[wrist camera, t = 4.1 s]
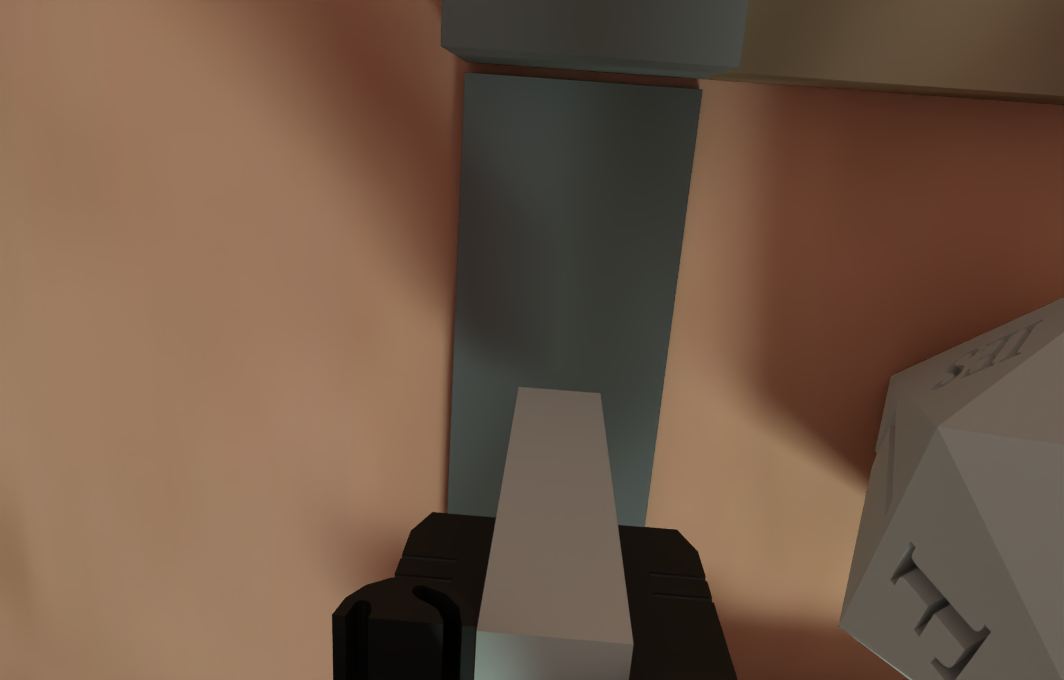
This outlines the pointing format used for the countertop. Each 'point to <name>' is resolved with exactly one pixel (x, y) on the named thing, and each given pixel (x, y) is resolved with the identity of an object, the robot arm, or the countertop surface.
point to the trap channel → (648, 181)
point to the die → (968, 512)
